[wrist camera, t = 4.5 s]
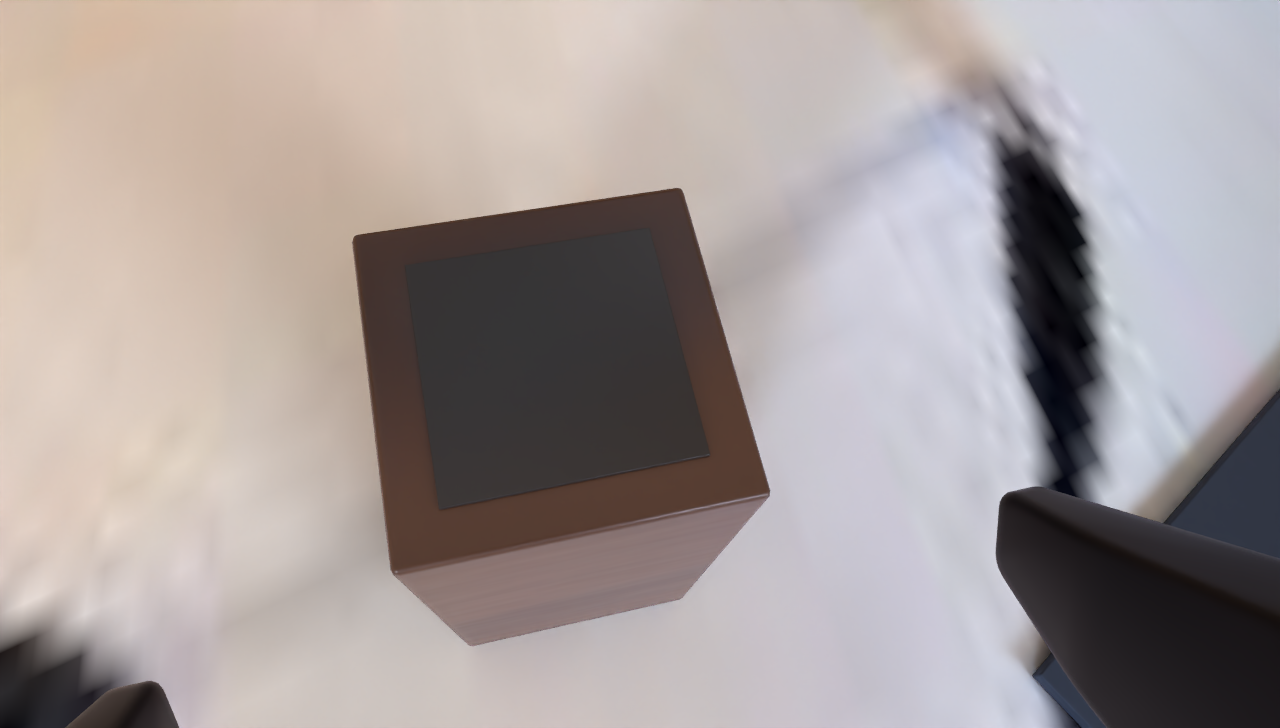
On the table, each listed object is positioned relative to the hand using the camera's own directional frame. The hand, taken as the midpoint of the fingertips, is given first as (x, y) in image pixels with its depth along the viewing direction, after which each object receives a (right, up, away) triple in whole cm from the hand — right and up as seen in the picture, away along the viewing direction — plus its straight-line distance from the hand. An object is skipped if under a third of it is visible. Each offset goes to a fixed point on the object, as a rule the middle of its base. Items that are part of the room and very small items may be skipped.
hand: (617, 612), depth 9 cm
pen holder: (-2, -1, +12) cm, 12 cm away
